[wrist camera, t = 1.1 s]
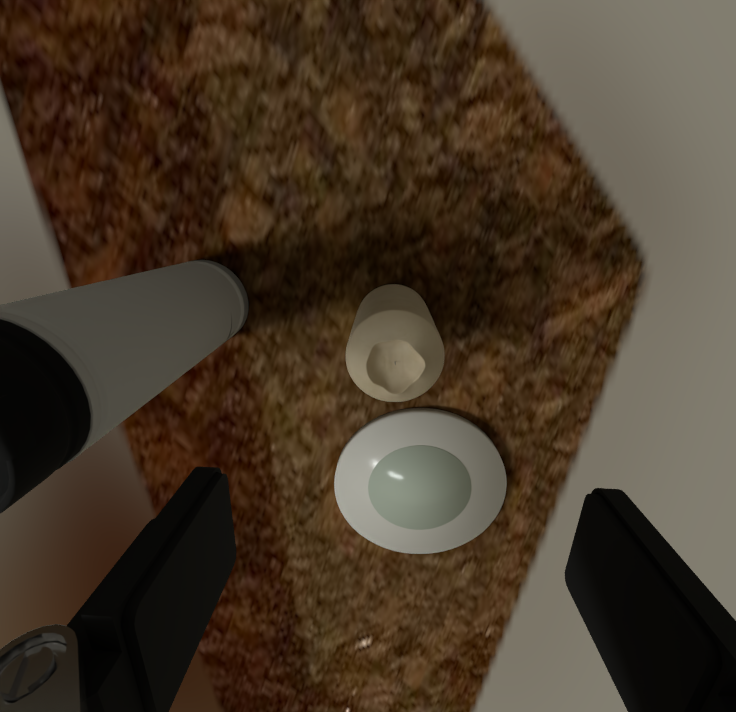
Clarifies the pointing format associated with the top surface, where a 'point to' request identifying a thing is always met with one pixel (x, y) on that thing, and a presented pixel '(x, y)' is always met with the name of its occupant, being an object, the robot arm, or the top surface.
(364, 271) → the top surface
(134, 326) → the travel mug
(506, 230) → the top surface
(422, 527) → the ceramic plate
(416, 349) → the candle
